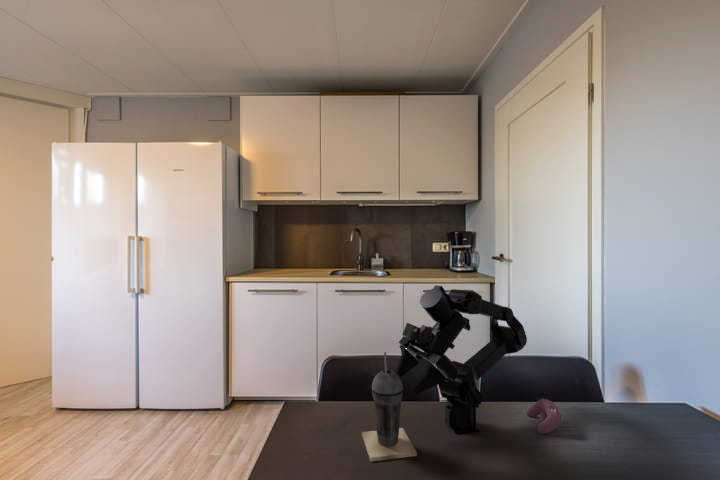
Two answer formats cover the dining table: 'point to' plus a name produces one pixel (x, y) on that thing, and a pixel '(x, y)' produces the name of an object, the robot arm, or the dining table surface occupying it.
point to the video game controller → (545, 415)
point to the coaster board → (383, 452)
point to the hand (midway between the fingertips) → (404, 385)
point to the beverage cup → (387, 405)
